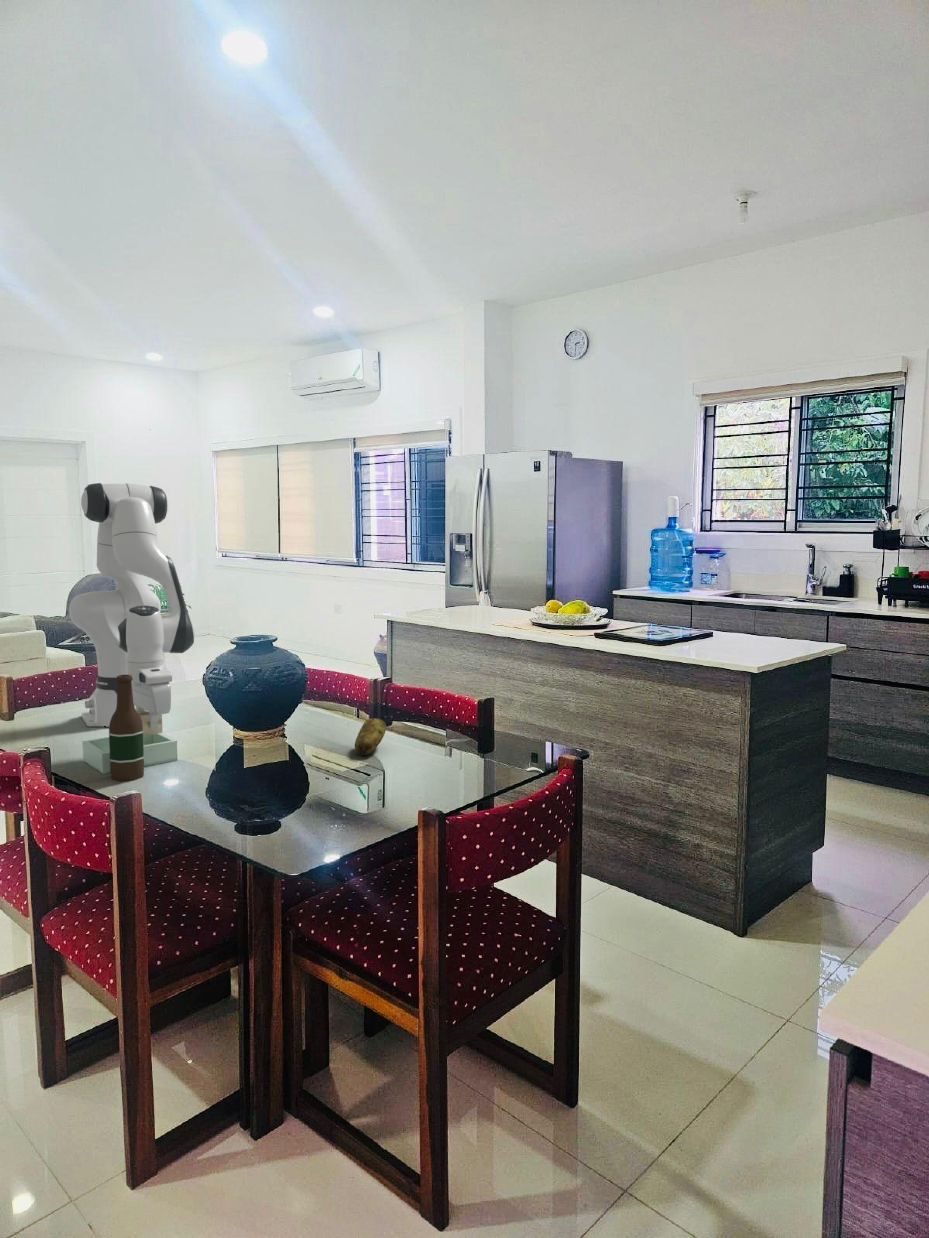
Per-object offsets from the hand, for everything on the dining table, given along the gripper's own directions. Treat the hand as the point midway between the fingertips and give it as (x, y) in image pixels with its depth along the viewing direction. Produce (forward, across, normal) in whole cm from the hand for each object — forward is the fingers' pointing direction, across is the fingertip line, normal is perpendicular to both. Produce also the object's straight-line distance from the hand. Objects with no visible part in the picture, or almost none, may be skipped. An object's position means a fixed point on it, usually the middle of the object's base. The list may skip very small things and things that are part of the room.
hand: (148, 725), depth 205 cm
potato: (+9, +30, +46) cm, 56 cm away
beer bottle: (+8, +12, -10) cm, 17 cm away
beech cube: (+2, 0, 0) cm, 2 cm away
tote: (+8, 0, -5) cm, 9 cm away
